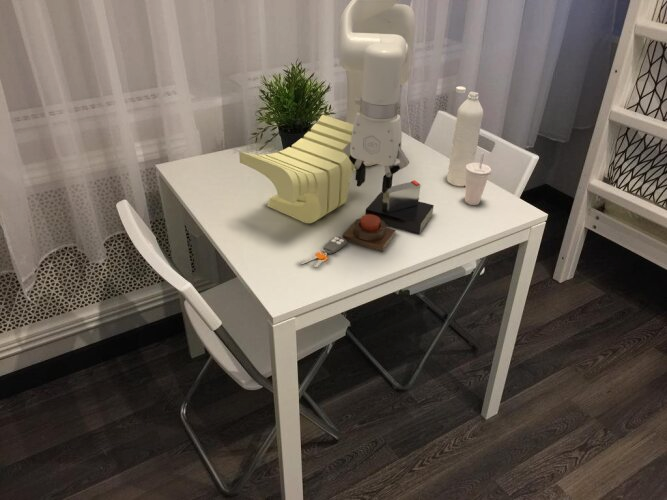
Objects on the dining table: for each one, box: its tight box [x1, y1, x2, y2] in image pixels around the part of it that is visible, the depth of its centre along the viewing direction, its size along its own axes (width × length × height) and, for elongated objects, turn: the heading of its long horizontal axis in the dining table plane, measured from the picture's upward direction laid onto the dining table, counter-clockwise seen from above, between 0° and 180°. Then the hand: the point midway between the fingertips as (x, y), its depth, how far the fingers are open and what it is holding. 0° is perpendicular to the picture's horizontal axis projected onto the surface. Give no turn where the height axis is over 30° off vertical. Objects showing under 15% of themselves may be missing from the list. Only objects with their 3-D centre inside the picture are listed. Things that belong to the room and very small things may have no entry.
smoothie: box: [464, 151, 492, 206], centre depth 149 cm, size 6×6×14 cm
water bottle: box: [446, 86, 484, 187], centre depth 156 cm, size 9×6×25 cm
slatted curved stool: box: [238, 114, 356, 224], centre depth 143 cm, size 30×16×18 cm, turn 142°
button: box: [360, 214, 380, 231], centre depth 135 cm, size 4×4×2 cm
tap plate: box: [364, 191, 435, 235], centre depth 144 cm, size 14×10×3 cm
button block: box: [342, 217, 396, 253], centre depth 136 cm, size 10×8×4 cm
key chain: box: [300, 235, 348, 268], centre depth 130 cm, size 13×4×2 cm, turn 145°
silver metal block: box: [382, 179, 421, 213], centre depth 142 cm, size 9×2×6 cm, turn 119°
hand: (373, 186), depth 129 cm, fingers open, 5 cm apart
